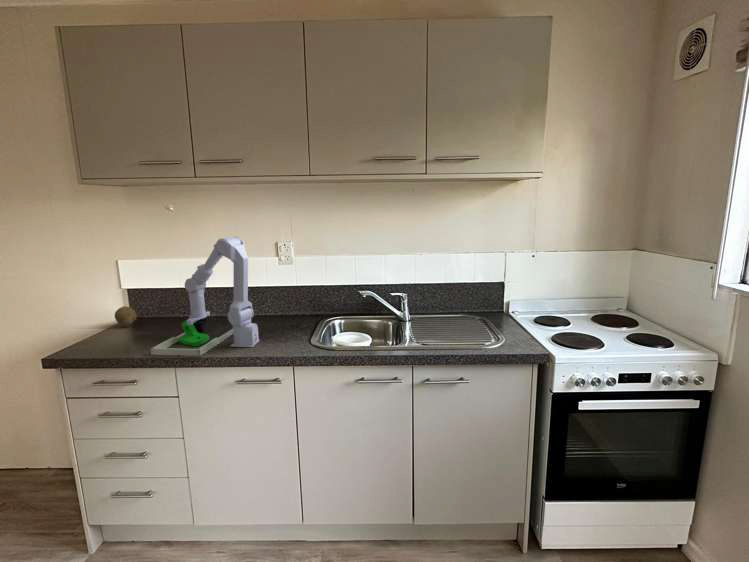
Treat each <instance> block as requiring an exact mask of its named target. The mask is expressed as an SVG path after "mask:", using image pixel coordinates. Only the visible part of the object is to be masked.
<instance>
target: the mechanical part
mask: <svg viewBox="0 0 749 562" xmlns="http://www.w3.org/2000/svg"><path fill="white" fill-rule="evenodd" d="M187 320H188V319H186V320H185V321H183V322H182V323H181V327H182V329H183V331H184V332H185V334H184V335H183V336H182V337H180V338H179V339H178V340H179V341H178V342H179V344H182V343H183V344H182V345H187V344H188V345H189V346H191V345H192V346H193V347H199V346H201V345H202V346H203V344H206V343H207V341H209V340H210V339H211V338H210V336H209V334H207V333H204V334H202V333H199V332H197V330H196V328H195V326H194V324H192V325H187ZM188 345H187V346H188Z"/></svg>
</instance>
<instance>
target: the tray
mask: <svg viewBox="0 0 749 562" xmlns="http://www.w3.org/2000/svg"><path fill="white" fill-rule="evenodd" d="M175 337H176V336H172V337H170V338H168V339H166V340H164V341H163V342H161V343H159V344H157V345H155V346H153V347H151V348H150V355H151V356H178V355H180V356H185V357H186V356H187V357H189V356H190V357H201V356H203V355H204V354H206V353H207V352H209V351H211V350H212V349H213V348H215V347H216V346H218V345H219V344H220V343H219V340H218V338H219V337H214V338H212V339H211V340H210V341H208V342H206V343H204V345H202V346H200V347H199V348H173V347H172V348H169V347H171V346H173V345H175V344H176V343H177V342H176V338H175ZM174 343H175V344H174ZM172 344H173V345H172ZM217 344H218V345H217ZM214 346H215V347H214ZM211 348H212V349H211ZM208 350H209V351H208ZM202 354H203V355H202Z"/></svg>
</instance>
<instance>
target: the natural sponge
mask: <svg viewBox="0 0 749 562" xmlns="http://www.w3.org/2000/svg"><path fill="white" fill-rule="evenodd" d="M137 318H138V315H137V313H136V311H135V310H134V309H133V308H132V307H130V306H121V307H119V308H118V309H116V311H115V312H114V319H115V321H116V322H117V324H118V325H119V326H121V327H124V328H128V327H129V326H131V324H132V323H133V322H135V321H136V320H137Z"/></svg>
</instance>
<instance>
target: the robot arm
mask: <svg viewBox="0 0 749 562" xmlns="http://www.w3.org/2000/svg"><path fill="white" fill-rule="evenodd" d="M245 245H246V243H245V242H244V240H242V239H241V238H240V237H238V236H233V237H226V238H219V239H218V240H217V241H216V243H215V244H214V245H213V250H212V251H211V253H210V254H209V256H208V258H207V259H206V261H205V263H204V264H203V263H201V264H200V265H197V267H196V268H197V269H196V270H195V272H194V273H193V274H192V275H191V277H190V278H187V279H185V282H184V288H185V291H187V292H188V299H189V307H190V315H188V319H186V320H187V325H192V324H194V326H195V328H196V330H197V332H199V333H202V334H205V329H206V325H207V324H208V318H206V317H210V316H211V312H210V311H208V310H206V302H205V289H206V288H207V287H206V286H207V282H208V280H209V278H211V276H212V274H213V273H214V271H213V269H214V267H215V266H216V265H217V264H218V263H219V261H220V260H221V259H222V258H223V257H225V258H226V259H229V260H230V261H231V262H232V263H233V300H232V302H231V304H230V306H229V311H228V313H227V320H228V322H229V324H231V326H232V329H233V334H232V335H233V342H232V343H231V344H230V345H229V347H231V348H232V347H233V348H234V347H235V348H253V347H254V346H256V344H258V343H259V342H260V341H261V340H260V339H259V337H260V336H259V327H258V324H257V323H252V318H253V317H254V312H255V311H254V308H253V303H252V302H251V301H249V299H248V297H249V257H248V253H247V251H246V249H245V247H246V246H245Z"/></svg>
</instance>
